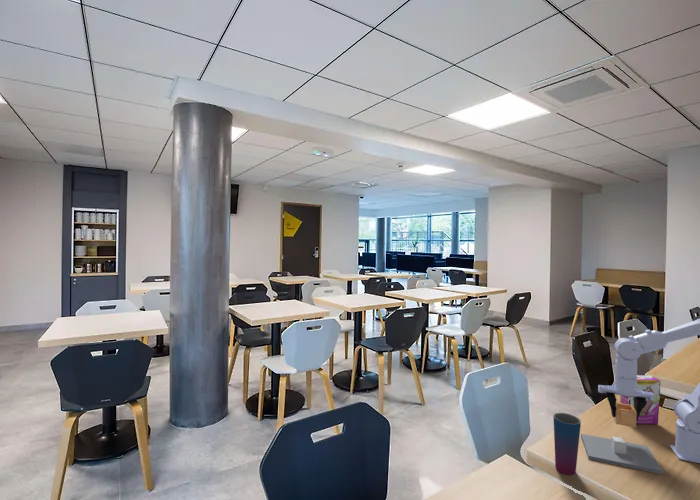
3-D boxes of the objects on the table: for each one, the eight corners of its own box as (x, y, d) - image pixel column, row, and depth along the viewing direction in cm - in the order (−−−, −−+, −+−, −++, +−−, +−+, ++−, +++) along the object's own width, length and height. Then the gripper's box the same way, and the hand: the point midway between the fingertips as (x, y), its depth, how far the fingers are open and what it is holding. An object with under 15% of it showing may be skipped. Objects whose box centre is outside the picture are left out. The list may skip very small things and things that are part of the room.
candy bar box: (629, 425, 134) (630, 379, 133) (618, 418, 139) (620, 374, 138) (659, 425, 134) (661, 379, 134) (648, 418, 139) (649, 374, 139)
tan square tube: (612, 416, 125) (613, 402, 125) (631, 420, 123) (632, 405, 123) (618, 429, 117) (619, 413, 117) (639, 433, 115) (640, 417, 115)
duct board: (647, 449, 118) (647, 435, 118) (663, 474, 106) (663, 459, 106) (581, 436, 126) (581, 423, 126) (588, 458, 113) (588, 444, 113)
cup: (552, 472, 106) (553, 420, 106) (551, 460, 112) (553, 410, 112) (580, 480, 103) (581, 426, 102) (578, 466, 109) (580, 416, 108)
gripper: (649, 375, 122) (648, 416, 122) (596, 368, 128) (595, 408, 128) (656, 383, 115) (655, 426, 116) (601, 375, 121) (599, 417, 122)
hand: (624, 417), depth 122 cm, fingers closed on tan square tube, 5 cm apart
